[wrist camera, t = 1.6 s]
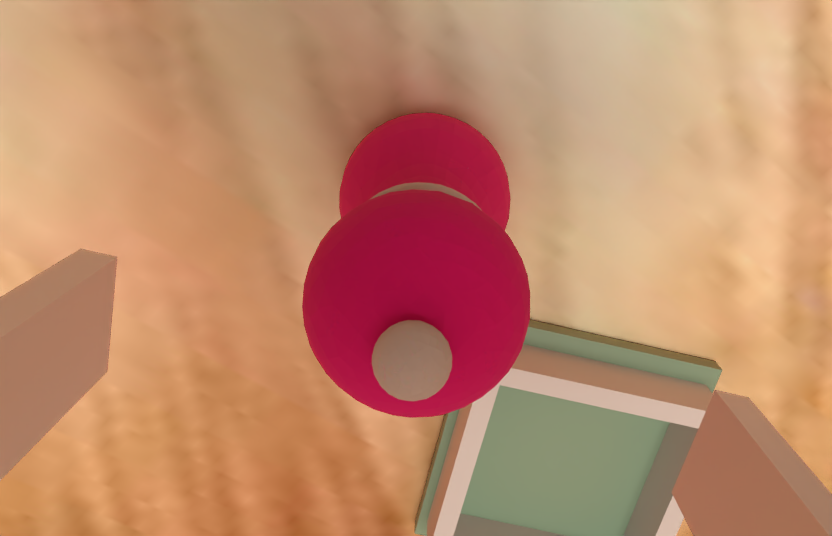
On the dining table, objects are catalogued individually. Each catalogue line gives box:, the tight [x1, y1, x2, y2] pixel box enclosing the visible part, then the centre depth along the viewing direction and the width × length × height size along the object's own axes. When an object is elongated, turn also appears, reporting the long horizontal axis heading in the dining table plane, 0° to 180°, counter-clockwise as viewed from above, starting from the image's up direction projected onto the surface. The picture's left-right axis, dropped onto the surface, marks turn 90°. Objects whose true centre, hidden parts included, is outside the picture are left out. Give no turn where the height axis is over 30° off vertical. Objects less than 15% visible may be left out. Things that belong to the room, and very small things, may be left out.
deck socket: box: [415, 320, 722, 536], centre depth 36 cm, size 14×13×4 cm
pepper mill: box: [302, 113, 530, 417], centre depth 24 cm, size 7×7×20 cm
